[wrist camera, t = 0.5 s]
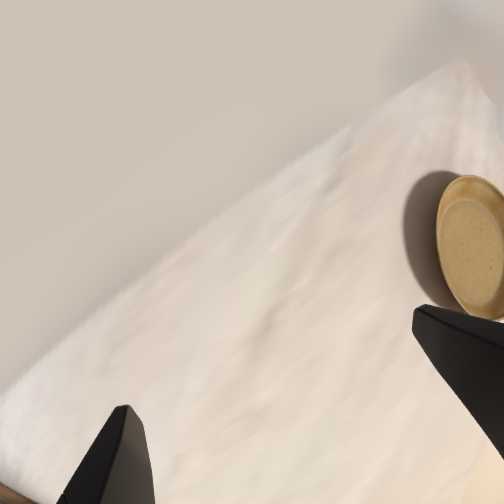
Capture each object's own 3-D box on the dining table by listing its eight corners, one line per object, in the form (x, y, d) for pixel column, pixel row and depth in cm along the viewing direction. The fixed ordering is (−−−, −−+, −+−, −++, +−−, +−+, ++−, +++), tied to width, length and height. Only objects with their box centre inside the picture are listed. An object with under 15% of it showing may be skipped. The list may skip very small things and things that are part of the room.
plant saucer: (422, 163, 28) (436, 152, 25) (510, 209, 28) (524, 202, 26) (411, 310, 25) (428, 309, 22) (507, 331, 25) (523, 330, 23)
